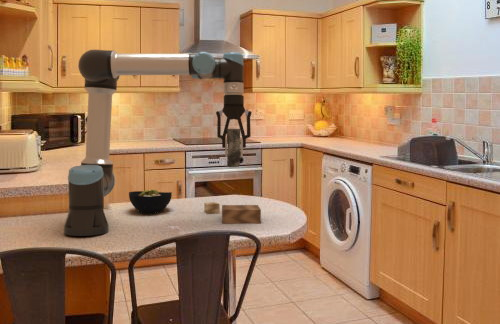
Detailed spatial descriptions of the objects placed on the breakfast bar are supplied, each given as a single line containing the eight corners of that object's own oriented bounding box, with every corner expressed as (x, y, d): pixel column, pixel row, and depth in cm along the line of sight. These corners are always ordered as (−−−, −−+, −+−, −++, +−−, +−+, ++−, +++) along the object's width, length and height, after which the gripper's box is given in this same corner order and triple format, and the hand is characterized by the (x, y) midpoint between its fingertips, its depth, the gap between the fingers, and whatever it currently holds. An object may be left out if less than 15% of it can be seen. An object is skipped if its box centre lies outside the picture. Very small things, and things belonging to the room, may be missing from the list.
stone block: (227, 167, 200) (241, 167, 200) (226, 128, 199) (240, 128, 199) (227, 166, 209) (240, 165, 209) (226, 128, 208) (239, 128, 208)
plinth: (222, 223, 199) (222, 210, 198) (222, 217, 213) (222, 205, 212) (260, 223, 200) (260, 209, 199) (257, 217, 213) (257, 204, 213)
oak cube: (207, 216, 216) (207, 204, 216) (204, 214, 221) (204, 202, 221) (219, 216, 218) (219, 203, 217) (216, 214, 222) (216, 202, 222)
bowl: (164, 217, 212) (164, 192, 211) (122, 216, 215) (122, 191, 214) (176, 211, 229) (176, 188, 228) (138, 210, 231) (137, 187, 231)
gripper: (209, 93, 199) (209, 157, 200) (258, 93, 200) (258, 156, 202) (209, 95, 207) (210, 156, 208) (256, 95, 208) (257, 156, 209)
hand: (234, 156), depth 205 cm, fingers closed on stone block, 5 cm apart
